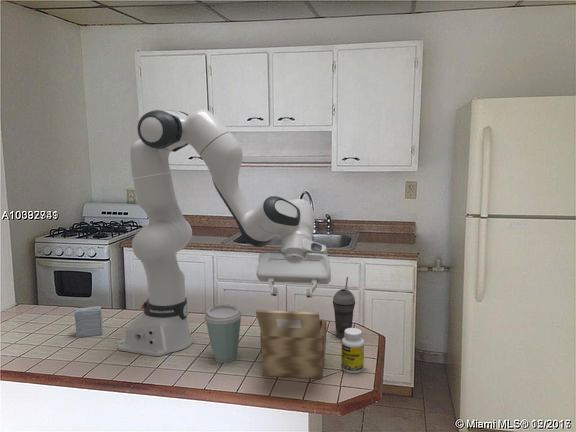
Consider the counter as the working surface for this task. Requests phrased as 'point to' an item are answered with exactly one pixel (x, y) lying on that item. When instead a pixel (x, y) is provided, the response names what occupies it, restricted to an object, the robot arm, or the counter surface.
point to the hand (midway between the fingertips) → (291, 295)
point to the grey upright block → (88, 321)
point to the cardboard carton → (294, 355)
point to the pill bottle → (352, 351)
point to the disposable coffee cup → (223, 331)
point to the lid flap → (289, 323)
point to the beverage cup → (343, 310)
